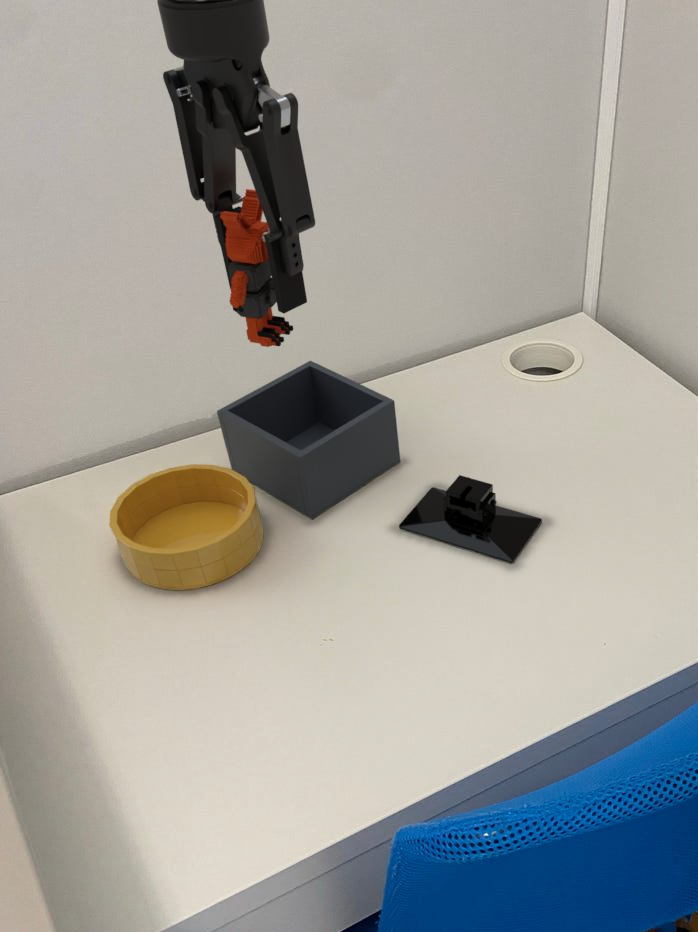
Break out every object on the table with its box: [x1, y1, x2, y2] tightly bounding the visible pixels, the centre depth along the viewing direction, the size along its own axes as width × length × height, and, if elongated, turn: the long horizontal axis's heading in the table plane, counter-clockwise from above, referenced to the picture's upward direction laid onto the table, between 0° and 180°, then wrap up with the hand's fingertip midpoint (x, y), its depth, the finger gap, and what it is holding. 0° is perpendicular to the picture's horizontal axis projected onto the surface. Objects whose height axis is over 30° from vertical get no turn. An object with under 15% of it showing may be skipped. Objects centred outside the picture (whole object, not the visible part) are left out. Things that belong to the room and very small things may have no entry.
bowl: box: [108, 463, 265, 591], centre depth 89 cm, size 13×13×4 cm
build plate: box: [398, 474, 543, 565], centre depth 90 cm, size 12×7×5 cm, turn 63°
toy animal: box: [220, 188, 294, 348], centre depth 82 cm, size 8×6×12 cm
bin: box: [216, 360, 401, 520], centre depth 97 cm, size 13×13×8 cm
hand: (268, 295), depth 84 cm, fingers closed on toy animal, 6 cm apart
